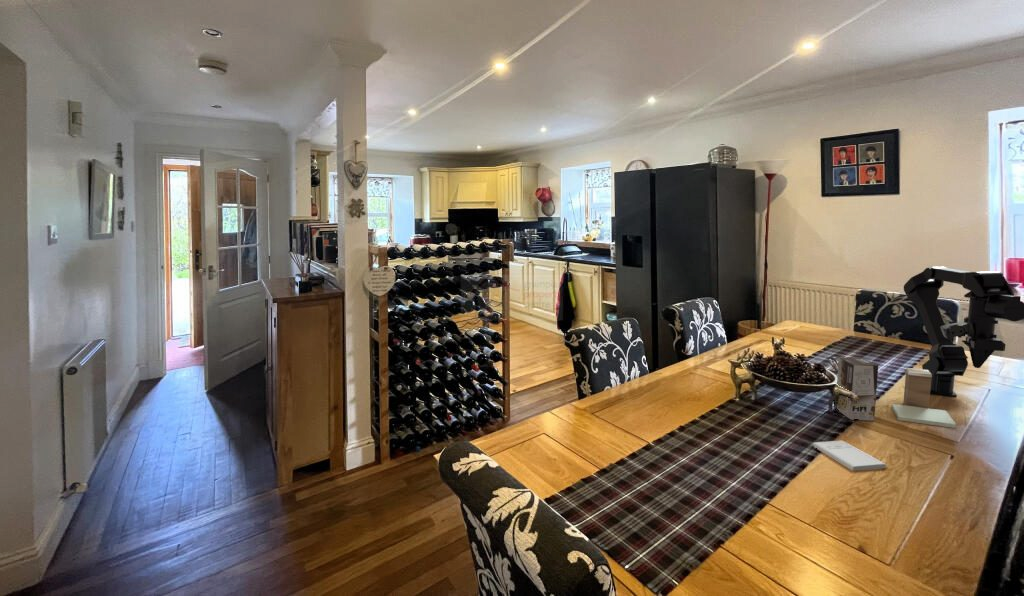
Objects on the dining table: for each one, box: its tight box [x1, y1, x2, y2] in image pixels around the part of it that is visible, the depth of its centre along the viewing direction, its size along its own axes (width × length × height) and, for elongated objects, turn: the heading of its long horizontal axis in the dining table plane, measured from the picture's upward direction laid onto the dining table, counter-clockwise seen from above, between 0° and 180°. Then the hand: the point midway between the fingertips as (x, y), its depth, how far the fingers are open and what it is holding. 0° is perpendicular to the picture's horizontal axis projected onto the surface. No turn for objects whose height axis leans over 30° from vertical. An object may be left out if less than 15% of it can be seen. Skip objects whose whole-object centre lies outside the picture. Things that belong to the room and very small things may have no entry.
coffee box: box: [836, 356, 879, 422], centre depth 135 cm, size 9×6×16 cm
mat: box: [891, 403, 957, 429], centre depth 132 cm, size 11×12×1 cm
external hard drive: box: [812, 439, 887, 472], centre depth 112 cm, size 2×8×12 cm
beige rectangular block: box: [902, 367, 932, 409], centre depth 139 cm, size 5×5×11 cm
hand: (976, 367), depth 137 cm, fingers closed
